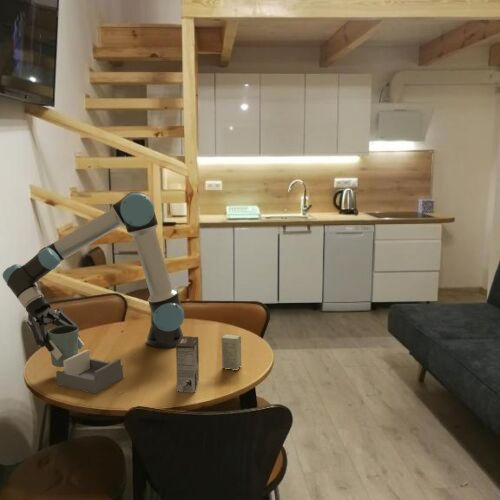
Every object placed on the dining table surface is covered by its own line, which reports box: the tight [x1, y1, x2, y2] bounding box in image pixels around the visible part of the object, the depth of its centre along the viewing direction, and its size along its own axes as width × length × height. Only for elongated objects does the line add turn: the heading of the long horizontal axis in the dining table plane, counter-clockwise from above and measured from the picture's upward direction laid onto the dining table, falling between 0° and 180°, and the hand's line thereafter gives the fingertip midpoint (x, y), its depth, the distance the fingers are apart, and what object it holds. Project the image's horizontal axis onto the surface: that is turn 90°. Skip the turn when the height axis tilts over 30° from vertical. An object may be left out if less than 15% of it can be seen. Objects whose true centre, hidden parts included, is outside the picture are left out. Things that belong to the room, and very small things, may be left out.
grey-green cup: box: [47, 325, 80, 368], centre depth 168 cm, size 10×10×12 cm
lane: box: [55, 357, 124, 395], centre depth 165 cm, size 16×14×7 cm
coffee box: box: [175, 335, 200, 393], centre depth 161 cm, size 9×6×16 cm
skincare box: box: [221, 333, 242, 369], centre depth 177 cm, size 6×4×12 cm
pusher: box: [63, 349, 90, 375], centre depth 167 cm, size 1×11×7 cm, turn 156°
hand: (71, 352), depth 167 cm, fingers closed on grey-green cup, 10 cm apart
